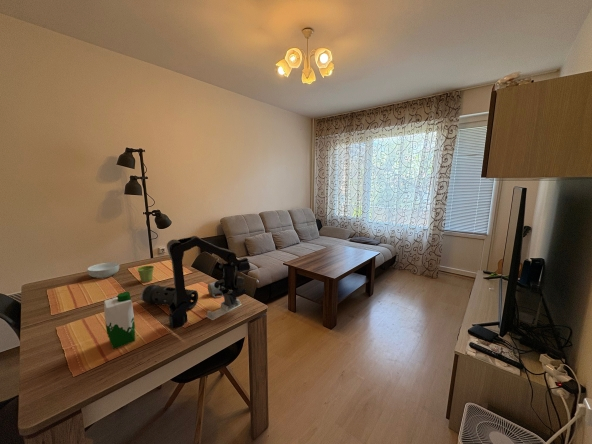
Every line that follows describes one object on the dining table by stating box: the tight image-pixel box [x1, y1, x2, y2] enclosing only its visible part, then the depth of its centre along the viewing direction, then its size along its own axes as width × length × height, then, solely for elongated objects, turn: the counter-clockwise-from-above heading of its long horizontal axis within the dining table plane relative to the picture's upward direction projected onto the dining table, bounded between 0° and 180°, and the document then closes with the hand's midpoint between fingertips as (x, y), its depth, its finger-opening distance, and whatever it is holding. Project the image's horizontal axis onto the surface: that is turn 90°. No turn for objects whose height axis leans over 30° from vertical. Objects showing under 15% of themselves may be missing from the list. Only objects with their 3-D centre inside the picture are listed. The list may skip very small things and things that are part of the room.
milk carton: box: [103, 291, 136, 350], centre depth 94 cm, size 9×9×20 cm
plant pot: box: [136, 265, 155, 283], centre depth 151 cm, size 9×9×9 cm
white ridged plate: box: [205, 298, 243, 321], centre depth 118 cm, size 18×7×3 cm, turn 144°
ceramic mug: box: [207, 281, 224, 299], centre depth 134 cm, size 11×8×8 cm
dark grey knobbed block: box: [223, 290, 236, 307], centre depth 120 cm, size 4×4×7 cm
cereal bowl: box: [86, 261, 120, 279], centre depth 157 cm, size 17×17×7 cm
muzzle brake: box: [140, 284, 199, 310], centre depth 121 cm, size 10×28×10 cm, turn 78°
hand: (230, 302), depth 121 cm, fingers closed on dark grey knobbed block, 4 cm apart
